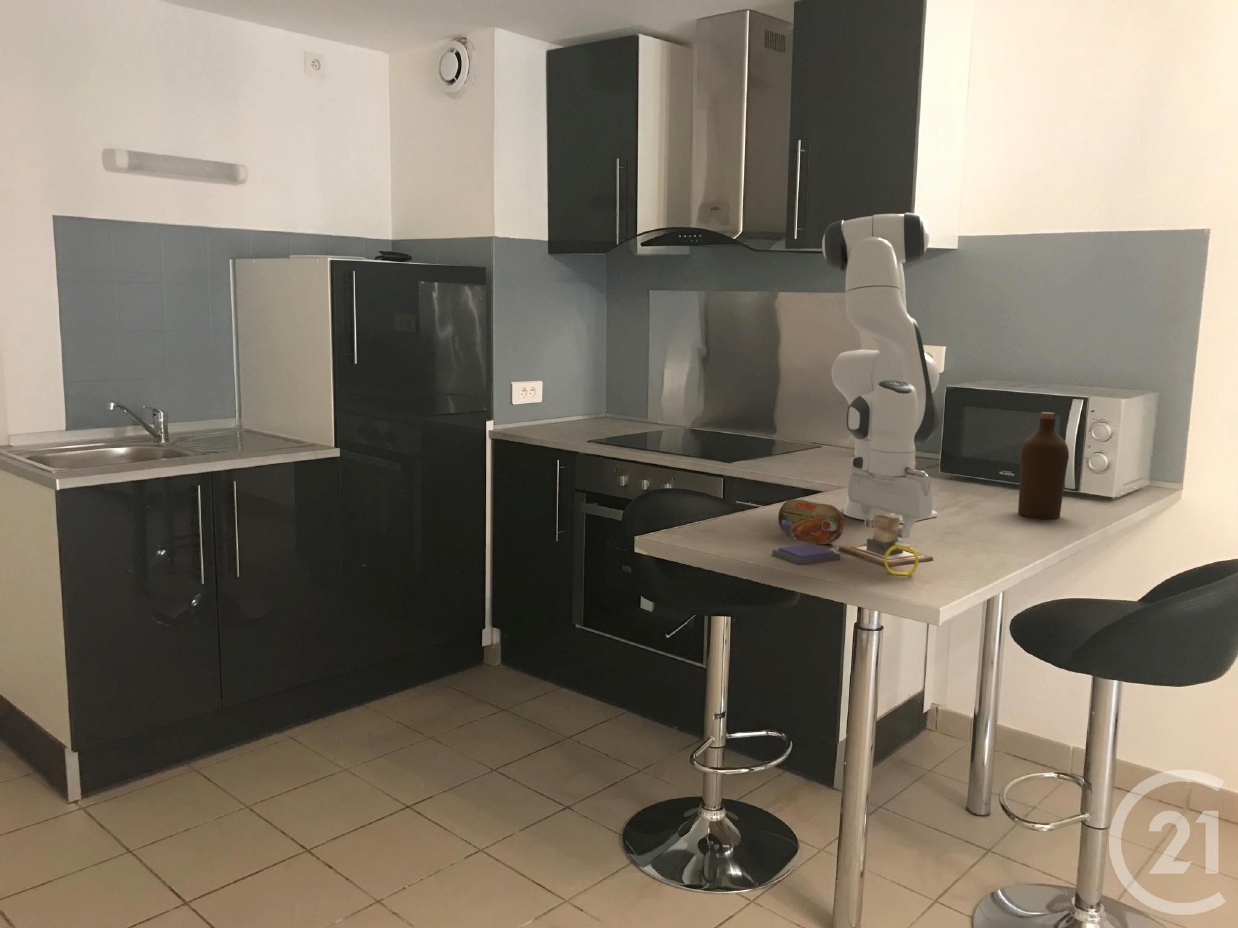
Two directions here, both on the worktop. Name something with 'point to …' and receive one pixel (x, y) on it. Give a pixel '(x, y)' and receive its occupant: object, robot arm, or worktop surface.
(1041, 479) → the olive oil
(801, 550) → the ink pad
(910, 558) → the board
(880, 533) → the stamp
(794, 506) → the tin
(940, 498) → the worktop surface
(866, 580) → the worktop surface
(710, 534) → the worktop surface
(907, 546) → the watch
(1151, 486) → the worktop surface
